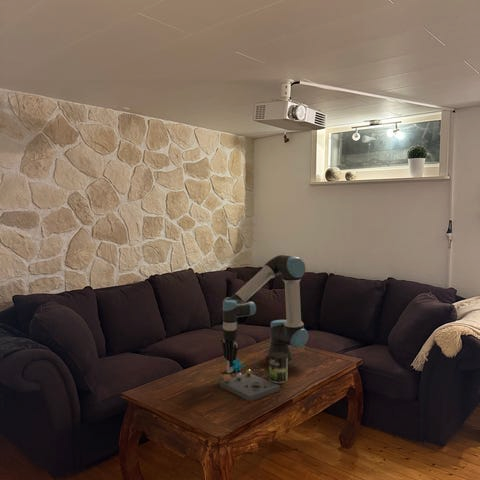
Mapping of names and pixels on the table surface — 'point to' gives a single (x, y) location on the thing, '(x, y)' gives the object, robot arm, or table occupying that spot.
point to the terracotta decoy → (227, 378)
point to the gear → (236, 365)
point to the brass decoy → (248, 372)
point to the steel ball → (239, 376)
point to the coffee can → (278, 367)
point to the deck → (250, 387)
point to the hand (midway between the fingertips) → (229, 372)
